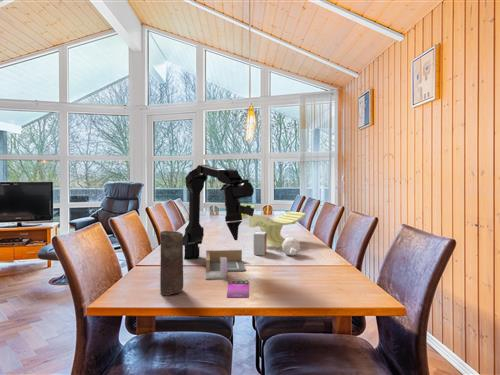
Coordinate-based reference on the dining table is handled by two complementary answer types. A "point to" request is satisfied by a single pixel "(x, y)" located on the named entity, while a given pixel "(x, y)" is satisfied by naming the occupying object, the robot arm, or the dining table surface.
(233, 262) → the corner tray
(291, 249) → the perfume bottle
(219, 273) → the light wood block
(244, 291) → the smartphone
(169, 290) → the grey-brown tall block
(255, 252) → the small box
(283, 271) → the dining table surface
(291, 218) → the slatted curved stool
